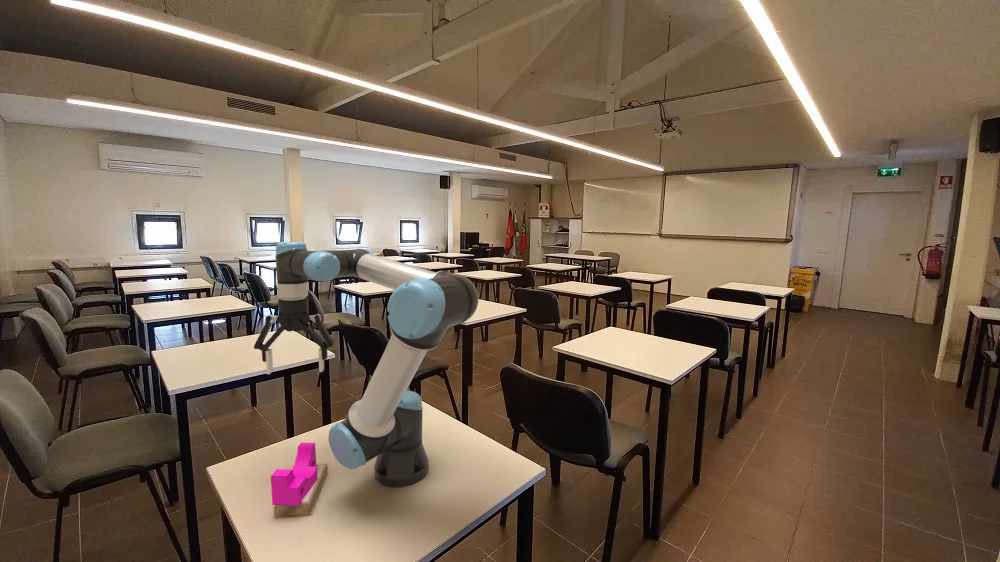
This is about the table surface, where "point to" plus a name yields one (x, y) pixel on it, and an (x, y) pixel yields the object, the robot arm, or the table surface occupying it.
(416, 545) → the table surface
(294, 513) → the base slab
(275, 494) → the magenta bracket
